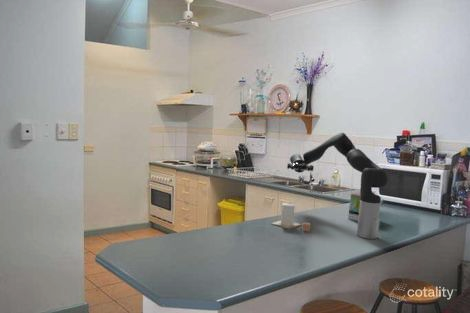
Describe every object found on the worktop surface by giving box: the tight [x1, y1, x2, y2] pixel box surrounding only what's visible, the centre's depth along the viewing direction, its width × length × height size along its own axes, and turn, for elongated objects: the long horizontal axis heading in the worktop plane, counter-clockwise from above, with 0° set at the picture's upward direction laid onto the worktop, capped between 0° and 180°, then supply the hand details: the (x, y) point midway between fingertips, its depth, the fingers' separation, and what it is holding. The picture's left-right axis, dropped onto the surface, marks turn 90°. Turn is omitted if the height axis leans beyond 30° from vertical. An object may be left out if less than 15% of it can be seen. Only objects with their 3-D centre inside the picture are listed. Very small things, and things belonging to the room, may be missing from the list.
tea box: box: [347, 191, 361, 222], centre depth 232 cm, size 15×10×15 cm, turn 143°
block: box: [301, 221, 311, 233], centre depth 198 cm, size 4×4×4 cm
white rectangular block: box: [280, 202, 296, 226], centre depth 205 cm, size 6×6×10 cm
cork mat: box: [271, 219, 302, 230], centre depth 206 cm, size 11×11×1 cm
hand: (300, 168), depth 217 cm, fingers open, 8 cm apart
